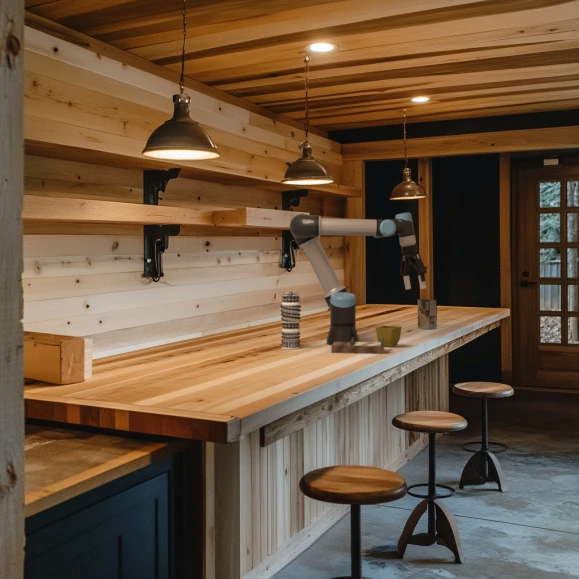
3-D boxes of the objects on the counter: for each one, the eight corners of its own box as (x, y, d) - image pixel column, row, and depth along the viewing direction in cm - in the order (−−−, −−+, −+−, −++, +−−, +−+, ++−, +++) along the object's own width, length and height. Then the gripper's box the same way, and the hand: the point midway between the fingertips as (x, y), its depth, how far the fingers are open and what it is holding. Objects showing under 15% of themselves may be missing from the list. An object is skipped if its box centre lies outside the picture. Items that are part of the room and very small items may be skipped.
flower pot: (392, 348, 327) (392, 328, 327) (375, 346, 332) (375, 327, 332) (401, 346, 334) (402, 326, 334) (384, 344, 339) (385, 325, 339)
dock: (331, 352, 314) (331, 341, 313) (333, 348, 328) (333, 337, 327) (383, 353, 311) (383, 341, 310) (383, 349, 325) (384, 337, 324)
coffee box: (437, 328, 406) (437, 299, 405) (429, 329, 402) (429, 300, 401) (424, 327, 413) (425, 298, 412) (417, 328, 409) (417, 299, 408)
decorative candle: (288, 350, 322) (288, 292, 320) (276, 347, 329) (276, 291, 328) (305, 348, 327) (305, 292, 326) (292, 346, 335) (292, 291, 333)
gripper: (429, 241, 343) (436, 286, 344) (401, 245, 366) (408, 287, 367) (415, 244, 340) (423, 289, 341) (388, 248, 363) (395, 290, 364)
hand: (415, 289), depth 354 cm, fingers open, 13 cm apart
